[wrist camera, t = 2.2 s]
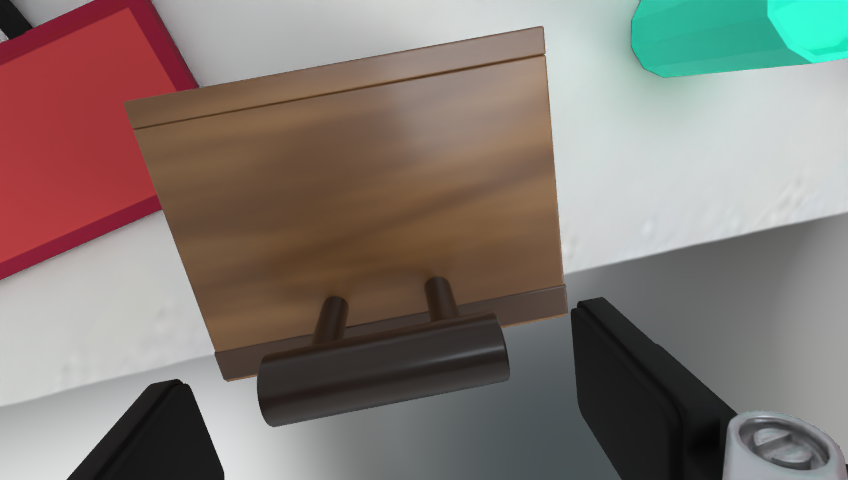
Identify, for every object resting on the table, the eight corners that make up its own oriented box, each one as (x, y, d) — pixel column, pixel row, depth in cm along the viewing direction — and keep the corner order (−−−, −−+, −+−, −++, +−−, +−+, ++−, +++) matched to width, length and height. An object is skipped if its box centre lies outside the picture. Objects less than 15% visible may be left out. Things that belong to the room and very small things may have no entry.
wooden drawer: (-48, 101, 8) (151, 508, 11) (640, -23, 8) (647, 408, 11) (260, 102, 27) (301, 251, 30) (464, 65, 27) (484, 216, 30)
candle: (674, 97, 29) (864, 92, 17) (610, 37, 27) (771, -11, 16) (741, 16, 28) (991, -45, 16) (678, -51, 26) (904, -170, 15)
